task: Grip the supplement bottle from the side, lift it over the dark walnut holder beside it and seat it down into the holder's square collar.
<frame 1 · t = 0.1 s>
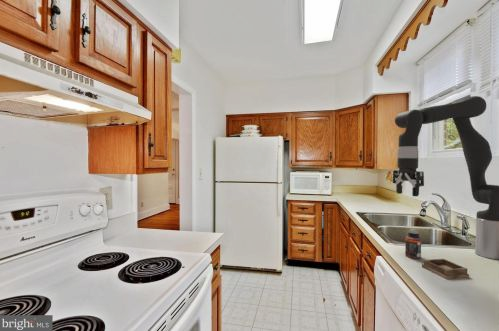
hand: (406, 194, 105), 29 cm above the countertop, tool pointing down, fingers open, 8 cm apart
supplement bottle: (412, 257, 111), on the countertop
can holder: (444, 271, 96), on the countertop
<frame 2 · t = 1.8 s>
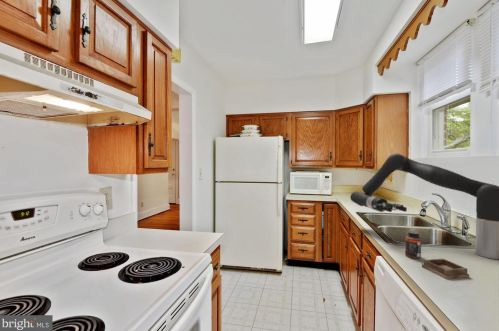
hand: (398, 209, 123), 19 cm above the countertop, tool horizontal, fingers open, 8 cm apart
nothing on the countertop moved.
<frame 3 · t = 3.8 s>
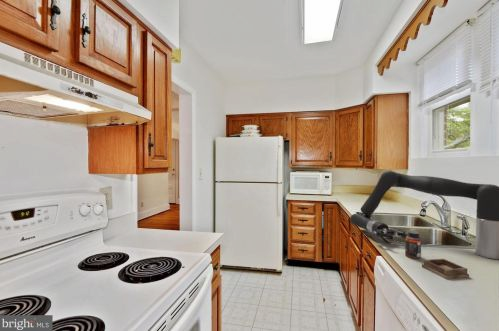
hand: (400, 237, 119), 6 cm above the countertop, tool horizontal, fingers open, 8 cm apart
nothing on the countertop moved.
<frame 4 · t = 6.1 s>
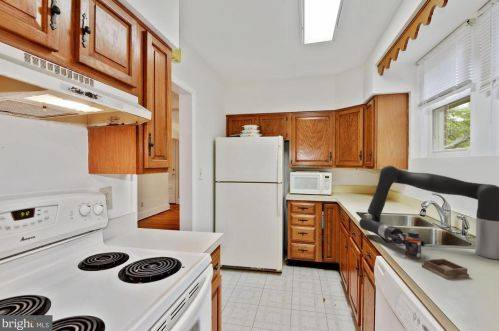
hand: (417, 244, 109), 7 cm above the countertop, tool horizontal, fingers closed on supplement bottle, 6 cm apart
supplement bottle: (412, 257, 111), on the countertop, touching gripper
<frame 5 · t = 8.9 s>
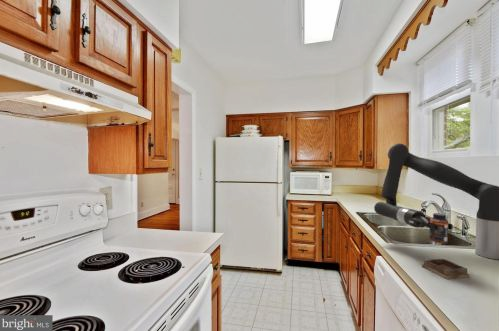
hand: (444, 227, 96), 18 cm above the countertop, tool horizontal, fingers closed on supplement bottle, 6 cm apart
supplement bottle: (438, 241, 99), point 11 cm above the countertop, touching gripper
when the fingers open (8 cm above the countertop, at t = 12.0 s): supplement bottle stays where it is, resting on can holder.
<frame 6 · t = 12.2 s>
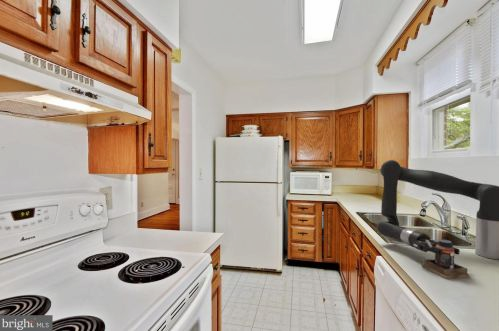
hand: (450, 252, 94), 8 cm above the countertop, tool horizontal, fingers open, 7 cm apart
supplement bottle: (444, 269, 97), point 1 cm above the countertop, touching can holder
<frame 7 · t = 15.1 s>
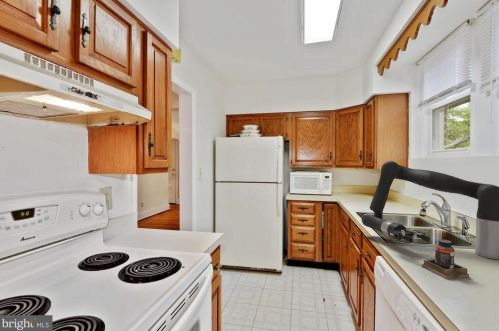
hand: (420, 239, 107), 9 cm above the countertop, tool horizontal, fingers open, 8 cm apart
nothing on the countertop moved.
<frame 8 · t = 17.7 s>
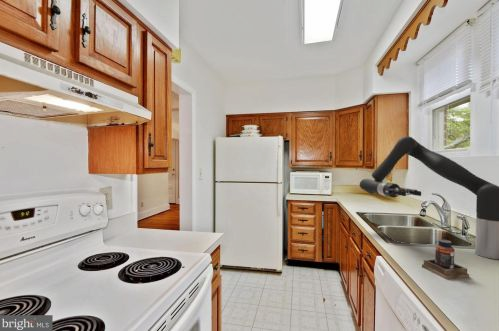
hand: (413, 193, 117), 28 cm above the countertop, tool horizontal, fingers open, 8 cm apart
nothing on the countertop moved.
at the end: supplement bottle 0.1 cm off-centre on the can holder, point 0.8 cm above the can holder's base; supplement bottle tilted 0°; the gripper is holding nothing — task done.
